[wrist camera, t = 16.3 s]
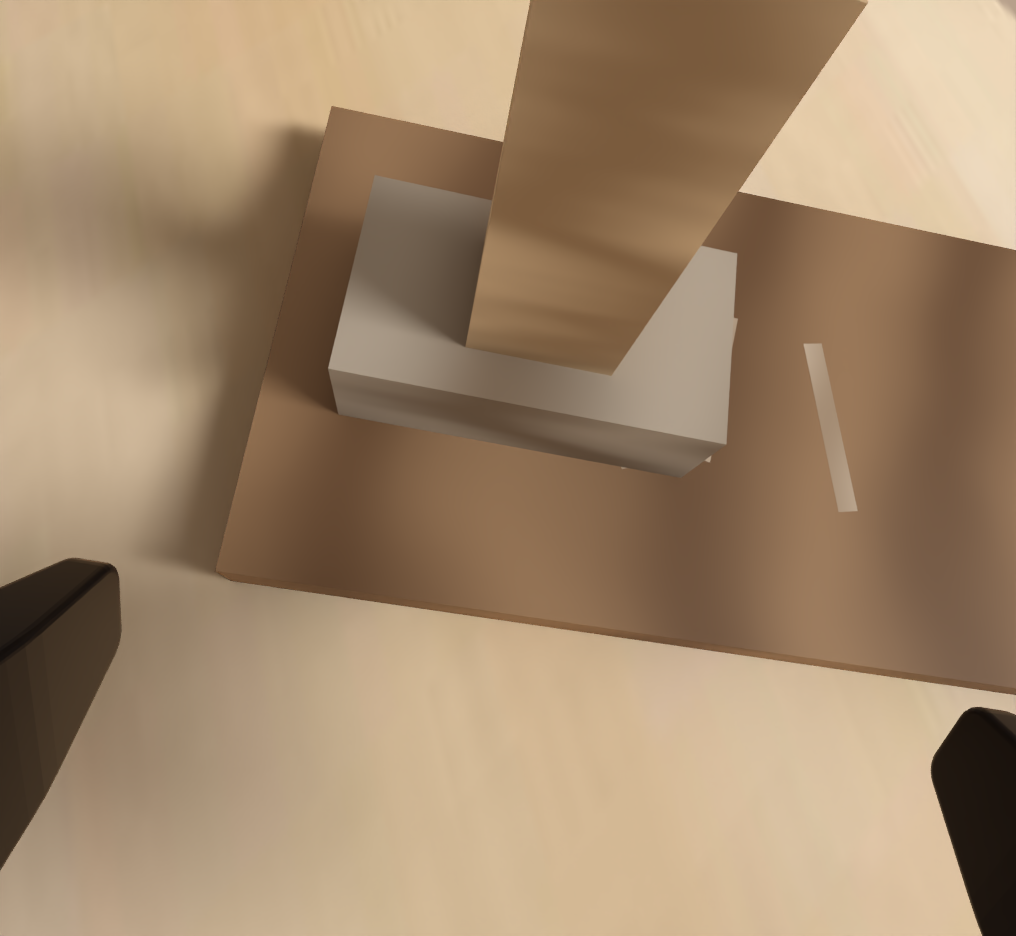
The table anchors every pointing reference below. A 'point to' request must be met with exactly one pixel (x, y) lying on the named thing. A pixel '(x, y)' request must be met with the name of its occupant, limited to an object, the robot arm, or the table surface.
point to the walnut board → (701, 492)
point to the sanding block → (585, 238)
